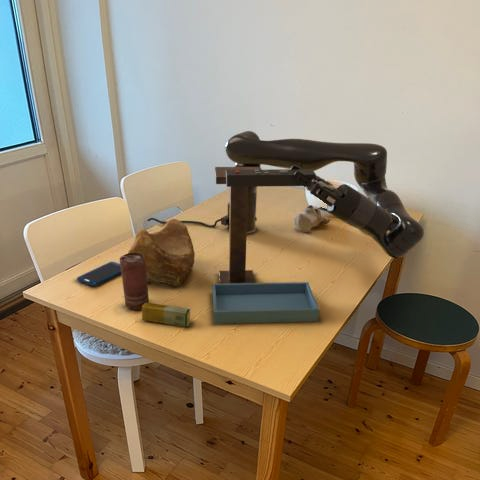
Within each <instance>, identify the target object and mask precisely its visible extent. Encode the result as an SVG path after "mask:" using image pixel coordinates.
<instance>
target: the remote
mask: <svg viewBox="0 0 480 480" xmlns="http://www.w3.org/2000/svg"><path fill="white" fill-rule="evenodd" d="M296 171H300V172H302V173H303V174H305V175H306V176H308V177H310V178H311V179H314V180H316V175H317V173H315V172H316V171H313V170H312V169H286V168H279V169H278V168H276V169H271V168H270V169H262V170H226V184H225V185H226V187H227V188H230V187H257V188H258V187H303V186H302V185H301V184H299V183H297V182H296V181H294V180H293V178H292V177H293V175H294V174H295V172H296Z"/></svg>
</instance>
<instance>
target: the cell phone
mask: <svg viewBox="0 0 480 480" xmlns="http://www.w3.org/2000/svg"><path fill="white" fill-rule="evenodd" d="M120 275H122V273H121V267H120V263H118V262H116V261H109V262H107V263H105V264H103V265H101V266H99V267H96V268H93V269H92V270H90V271H88V272H86V273H83V274H82V275H79V276H78V277H77V278H76V280H77V281H78V282H80V283H83V284H84V285H87V286H88V287H92V288H96V287H97V286H99V285H101V284H104V283H105V282H108V281H109V280H111V279H114V278H115V277H117V276H120Z"/></svg>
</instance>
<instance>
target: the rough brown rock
mask: <svg viewBox="0 0 480 480" xmlns="http://www.w3.org/2000/svg"><path fill="white" fill-rule="evenodd" d="M166 221H167V222H166V223H164V225H163V226H162V228H161V229H160V230H159V231H156V232H153V233H149V231H147V230H146V229H139V230H137V232H136V233H135V238H134V241H133V243H132V245H131V246H130V248H129V250H128V252H127V254H128V253H139V254H141V255H143V257H144V259H145V266H146V276H147V283H150V282H151V281H154V282H157V283H166V284H168V285H169V286H174V287H178V286H180V285H181V284H182V283H184V280H185V279H186V277H187V276H188V274H189V273H190V272H191V271H192V268H194V267H193V266H194V264H195V256H196V255H195V254H196V253H195V248H194V244H193V241H192V238H191V236H190V235H191V234H190V232H189V230H188V227H187V225H186V224H185V223H182V222H181V221H182V220H179V219H176V218H172V219H168V220H166Z"/></svg>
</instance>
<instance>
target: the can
mask: <svg viewBox="0 0 480 480" xmlns="http://www.w3.org/2000/svg"><path fill="white" fill-rule="evenodd" d="M119 264H120V267H121V280H122V288H123V295H124V296H123V297H124V303H125V307H127V309H129V310H131V311H142V306H143V304H144V303H150V298H149V289H148V282H147V276H146V266H145V259H144V257H143V255H141V254H139V253H128V252H127V253H125V254H123V255H121V256H120V257H119Z"/></svg>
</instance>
